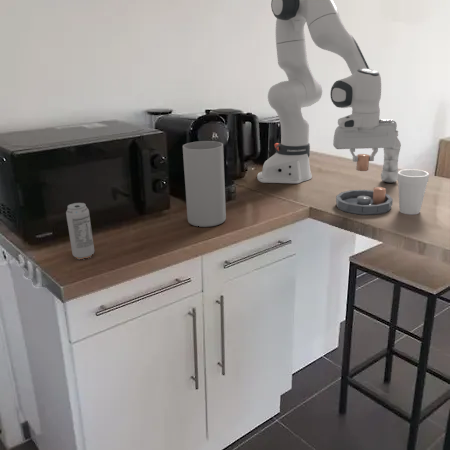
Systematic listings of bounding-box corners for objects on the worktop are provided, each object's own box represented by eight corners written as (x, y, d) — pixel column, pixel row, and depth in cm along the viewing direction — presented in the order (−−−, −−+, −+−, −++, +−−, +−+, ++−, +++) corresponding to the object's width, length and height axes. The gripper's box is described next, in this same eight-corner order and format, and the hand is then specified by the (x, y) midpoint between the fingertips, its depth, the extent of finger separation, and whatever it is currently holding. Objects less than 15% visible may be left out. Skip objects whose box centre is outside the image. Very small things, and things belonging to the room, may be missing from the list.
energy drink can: (91, 249, 148) (84, 200, 142) (97, 256, 143) (90, 206, 137) (70, 254, 145) (62, 204, 139) (76, 262, 140) (68, 210, 135)
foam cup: (425, 217, 162) (429, 177, 158) (394, 215, 165) (398, 176, 160) (423, 207, 171) (427, 169, 166) (394, 205, 173) (397, 168, 169)
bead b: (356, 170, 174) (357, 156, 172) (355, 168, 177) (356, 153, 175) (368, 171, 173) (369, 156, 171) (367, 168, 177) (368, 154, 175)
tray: (341, 215, 166) (342, 206, 165) (332, 198, 183) (333, 190, 182) (397, 214, 166) (398, 205, 164) (383, 197, 182) (384, 189, 181)
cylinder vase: (233, 222, 165) (230, 145, 156) (199, 230, 159) (195, 151, 150) (213, 211, 175) (209, 139, 166) (181, 219, 168) (175, 144, 160)
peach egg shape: (386, 204, 172) (387, 190, 170) (374, 204, 172) (375, 190, 170) (383, 200, 176) (384, 186, 174) (371, 201, 176) (372, 187, 174)
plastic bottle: (395, 179, 203) (400, 129, 195) (399, 184, 196) (404, 132, 189) (379, 179, 203) (382, 129, 196) (382, 184, 197) (386, 132, 190)
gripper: (394, 117, 171) (391, 157, 176) (333, 119, 172) (331, 159, 177) (399, 120, 165) (396, 162, 170) (336, 122, 166) (334, 164, 171)
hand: (363, 161), depth 174 cm, fingers closed on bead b, 4 cm apart
